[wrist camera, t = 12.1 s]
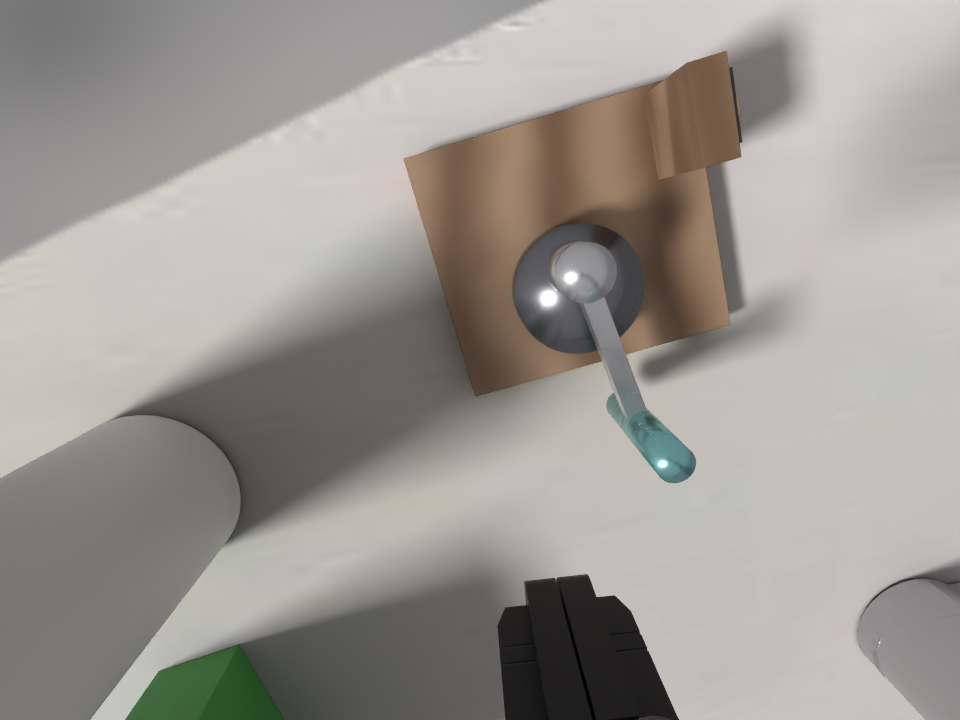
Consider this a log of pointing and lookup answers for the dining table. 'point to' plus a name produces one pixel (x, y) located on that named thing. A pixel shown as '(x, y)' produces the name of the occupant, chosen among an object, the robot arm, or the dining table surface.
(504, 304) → the stand
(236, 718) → the hardback book
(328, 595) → the dining table surface
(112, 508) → the cylinder vase
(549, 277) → the lever
